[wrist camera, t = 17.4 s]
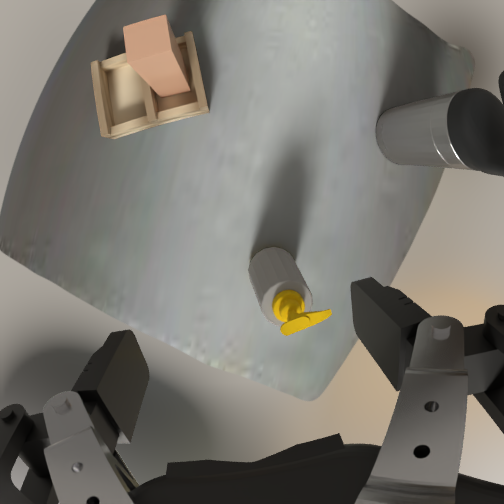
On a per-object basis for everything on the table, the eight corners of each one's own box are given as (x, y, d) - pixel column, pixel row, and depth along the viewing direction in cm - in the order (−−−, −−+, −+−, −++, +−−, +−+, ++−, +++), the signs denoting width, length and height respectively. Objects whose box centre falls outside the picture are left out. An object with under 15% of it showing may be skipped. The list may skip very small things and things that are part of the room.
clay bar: (185, 65, 36) (165, 14, 21) (190, 90, 37) (171, 49, 22) (157, 72, 36) (123, 27, 21) (161, 98, 37) (127, 62, 22)
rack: (195, 44, 37) (191, 30, 32) (209, 112, 40) (207, 105, 35) (103, 71, 36) (90, 62, 31) (114, 139, 39) (101, 136, 34)
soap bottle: (300, 279, 47) (339, 340, 30) (256, 295, 47) (273, 365, 30) (286, 237, 45) (322, 281, 28) (240, 254, 45) (250, 308, 28)
